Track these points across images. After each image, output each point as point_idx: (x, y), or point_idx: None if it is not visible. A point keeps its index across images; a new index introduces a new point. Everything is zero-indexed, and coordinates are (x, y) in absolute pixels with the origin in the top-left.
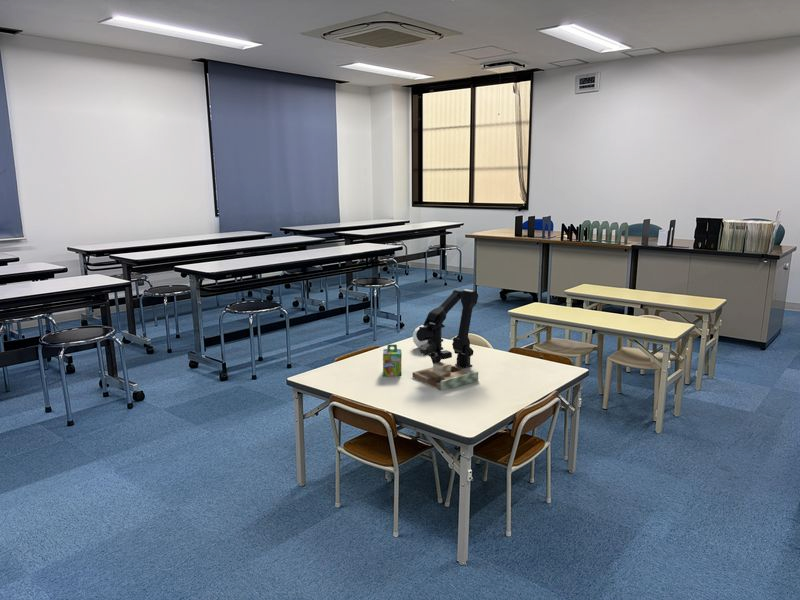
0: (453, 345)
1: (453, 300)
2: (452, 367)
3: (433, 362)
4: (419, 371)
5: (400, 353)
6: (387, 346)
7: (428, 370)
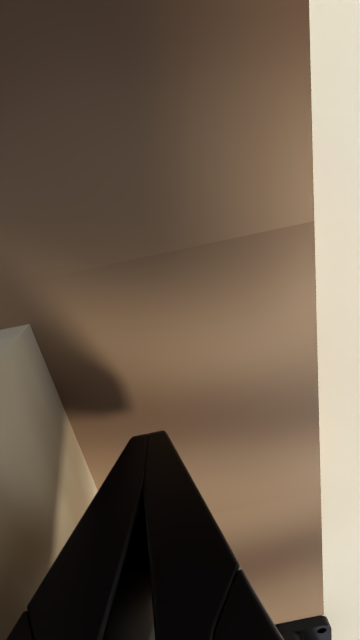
0: None
1: None
2: None
3: (153, 559)
4: (234, 2)
5: None
6: None
7: (194, 285)
